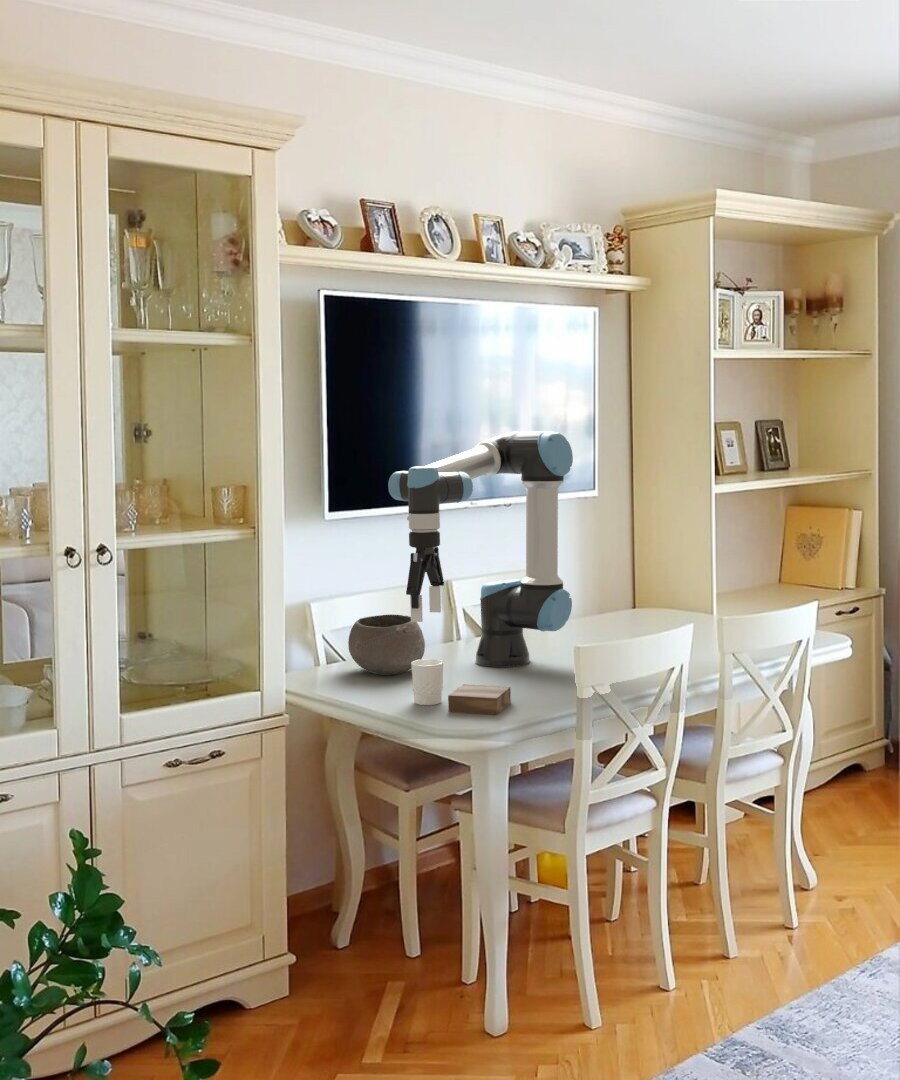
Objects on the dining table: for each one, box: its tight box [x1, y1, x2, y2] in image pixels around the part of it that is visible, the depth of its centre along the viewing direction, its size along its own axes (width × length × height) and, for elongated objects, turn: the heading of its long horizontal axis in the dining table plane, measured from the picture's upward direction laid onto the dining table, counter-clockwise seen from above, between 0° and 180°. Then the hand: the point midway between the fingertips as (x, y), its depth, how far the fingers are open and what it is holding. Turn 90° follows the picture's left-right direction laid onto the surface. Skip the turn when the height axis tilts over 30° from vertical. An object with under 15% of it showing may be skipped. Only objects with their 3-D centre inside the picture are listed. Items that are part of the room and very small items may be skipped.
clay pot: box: [347, 614, 426, 676], centre depth 342 cm, size 21×21×15 cm
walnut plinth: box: [447, 684, 512, 716], centre depth 302 cm, size 12×12×4 cm
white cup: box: [411, 658, 444, 706], centre depth 308 cm, size 8×8×10 cm
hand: (426, 616), depth 306 cm, fingers open, 13 cm apart
